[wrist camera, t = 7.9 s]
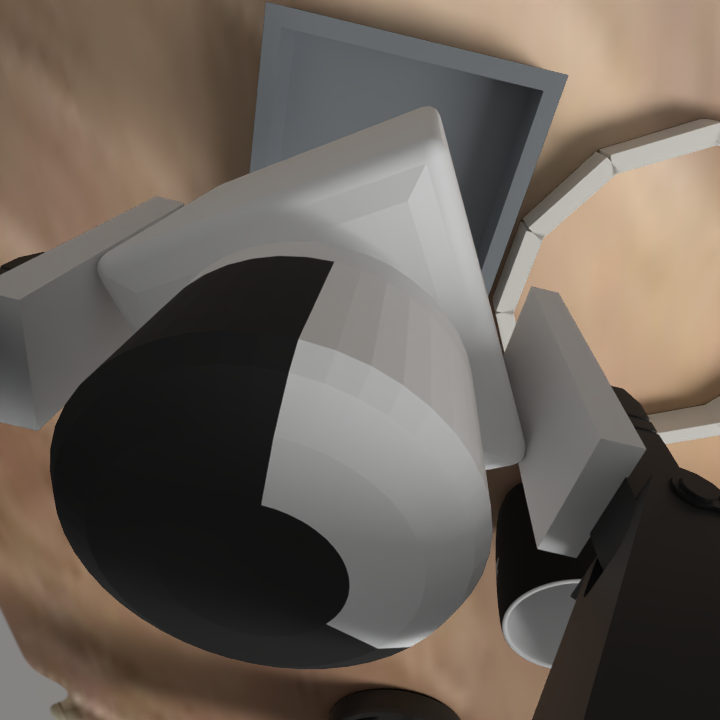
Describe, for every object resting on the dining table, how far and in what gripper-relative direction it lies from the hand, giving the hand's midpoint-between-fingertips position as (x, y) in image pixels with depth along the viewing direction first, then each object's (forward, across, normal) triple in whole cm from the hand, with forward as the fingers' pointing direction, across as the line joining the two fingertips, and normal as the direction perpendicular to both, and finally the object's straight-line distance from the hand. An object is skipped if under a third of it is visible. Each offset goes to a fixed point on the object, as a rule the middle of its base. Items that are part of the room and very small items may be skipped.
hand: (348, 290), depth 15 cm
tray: (+17, 0, 0) cm, 17 cm away
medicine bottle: (+3, 0, 0) cm, 3 cm away
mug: (+17, -18, +22) cm, 34 cm away
